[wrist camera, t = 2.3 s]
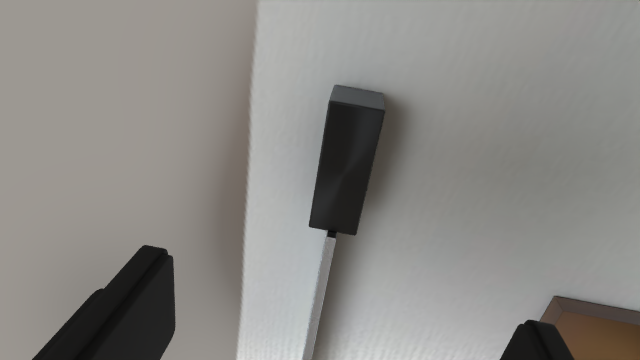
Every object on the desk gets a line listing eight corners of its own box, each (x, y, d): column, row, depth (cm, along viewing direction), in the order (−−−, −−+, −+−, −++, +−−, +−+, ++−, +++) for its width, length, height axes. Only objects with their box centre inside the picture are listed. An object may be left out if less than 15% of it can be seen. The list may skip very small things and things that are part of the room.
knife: (334, 84, 19) (327, 103, 16) (382, 92, 19) (386, 113, 15) (288, 360, 28) (278, 407, 25) (320, 366, 28) (314, 414, 25)
